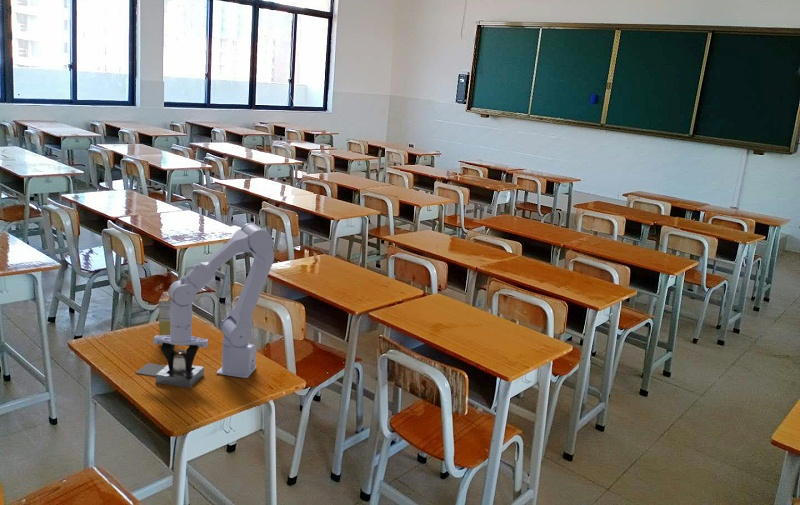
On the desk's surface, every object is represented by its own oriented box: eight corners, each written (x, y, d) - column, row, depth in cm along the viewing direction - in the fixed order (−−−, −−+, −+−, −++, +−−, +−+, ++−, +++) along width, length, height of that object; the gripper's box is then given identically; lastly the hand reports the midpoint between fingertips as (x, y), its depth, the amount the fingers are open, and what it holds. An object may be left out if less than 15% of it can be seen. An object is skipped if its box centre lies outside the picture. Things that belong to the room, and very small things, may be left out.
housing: (203, 374, 189) (204, 366, 189) (189, 388, 181) (190, 379, 180) (171, 369, 191) (171, 361, 190) (155, 382, 182) (155, 374, 181)
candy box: (162, 335, 214) (162, 291, 211) (176, 335, 215) (176, 291, 212) (158, 346, 206) (158, 300, 202) (172, 346, 207) (173, 300, 203)
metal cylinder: (191, 376, 188) (191, 350, 186) (184, 383, 183) (184, 356, 181) (176, 374, 188) (176, 348, 186) (169, 380, 184) (169, 354, 182)
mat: (170, 367, 192) (170, 366, 192) (158, 377, 185) (158, 376, 185) (147, 363, 193) (147, 362, 193) (135, 373, 186) (135, 372, 186)
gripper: (211, 320, 186) (209, 365, 189) (159, 316, 185) (159, 361, 188) (204, 329, 179) (203, 375, 182) (150, 325, 178) (150, 371, 182)
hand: (180, 368), depth 185 cm, fingers closed on metal cylinder, 4 cm apart
